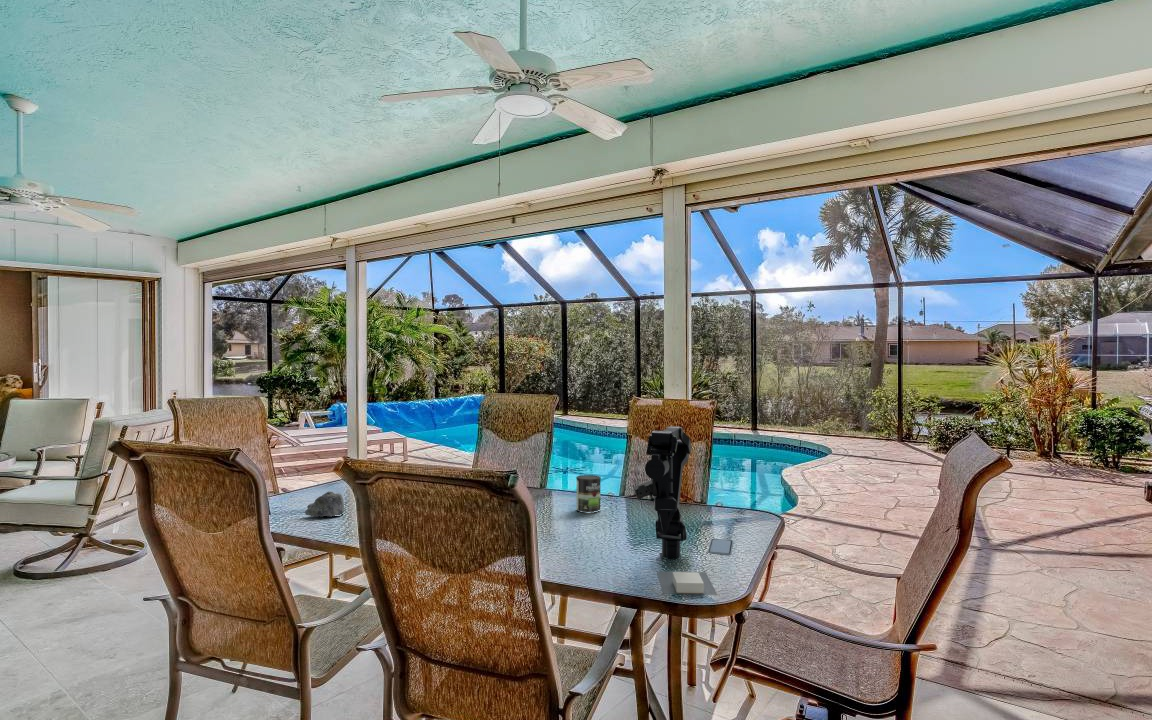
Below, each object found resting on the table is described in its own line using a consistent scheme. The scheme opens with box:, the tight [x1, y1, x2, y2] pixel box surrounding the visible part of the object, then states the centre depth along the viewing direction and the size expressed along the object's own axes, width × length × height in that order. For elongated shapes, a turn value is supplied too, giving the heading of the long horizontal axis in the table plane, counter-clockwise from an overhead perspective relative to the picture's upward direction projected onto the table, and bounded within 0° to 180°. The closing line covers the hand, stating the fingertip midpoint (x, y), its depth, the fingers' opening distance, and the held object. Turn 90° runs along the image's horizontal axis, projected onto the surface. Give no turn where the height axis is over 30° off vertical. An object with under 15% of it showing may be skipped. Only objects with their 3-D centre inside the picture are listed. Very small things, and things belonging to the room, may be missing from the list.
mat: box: [656, 570, 718, 596], centre depth 158 cm, size 16×14×1 cm
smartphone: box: [707, 538, 734, 556], centre depth 192 cm, size 7×1×15 cm
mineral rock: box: [304, 491, 345, 518], centre depth 231 cm, size 13×11×10 cm
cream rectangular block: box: [672, 571, 704, 595], centre depth 153 cm, size 3×7×8 cm
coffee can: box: [575, 474, 602, 512], centre depth 242 cm, size 10×10×14 cm
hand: (662, 526), depth 169 cm, fingers open, 9 cm apart
